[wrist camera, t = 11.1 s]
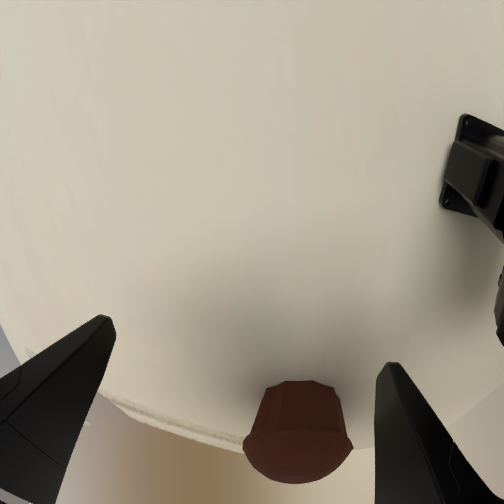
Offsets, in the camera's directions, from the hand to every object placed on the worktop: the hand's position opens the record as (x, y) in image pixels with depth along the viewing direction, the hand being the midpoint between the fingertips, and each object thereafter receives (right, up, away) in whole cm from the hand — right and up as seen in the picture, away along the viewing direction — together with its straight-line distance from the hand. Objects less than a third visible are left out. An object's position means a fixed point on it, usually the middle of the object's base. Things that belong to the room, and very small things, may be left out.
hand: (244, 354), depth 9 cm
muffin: (+6, -14, +22) cm, 27 cm away
